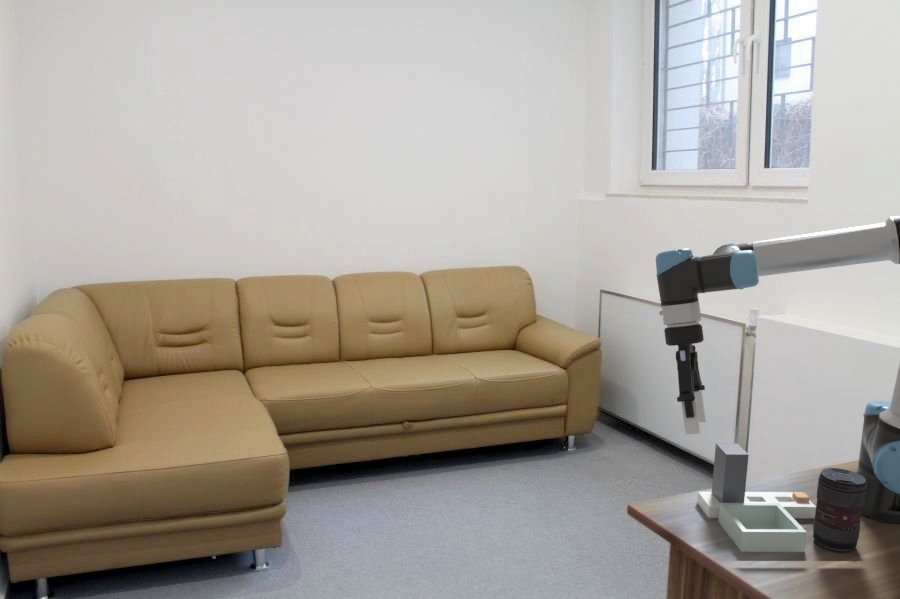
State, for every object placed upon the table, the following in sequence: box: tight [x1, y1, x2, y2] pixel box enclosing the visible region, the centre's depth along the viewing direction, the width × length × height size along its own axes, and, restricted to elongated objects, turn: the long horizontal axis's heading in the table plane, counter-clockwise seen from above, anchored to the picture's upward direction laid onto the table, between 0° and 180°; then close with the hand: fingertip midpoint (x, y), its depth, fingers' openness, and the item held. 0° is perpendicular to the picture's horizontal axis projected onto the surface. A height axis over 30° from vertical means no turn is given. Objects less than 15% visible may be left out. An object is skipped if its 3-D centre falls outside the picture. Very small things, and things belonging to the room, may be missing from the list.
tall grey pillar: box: [711, 442, 750, 503], centre depth 162 cm, size 4×6×13 cm
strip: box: [696, 491, 816, 520], centre depth 164 cm, size 22×7×4 cm, turn 91°
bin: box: [717, 503, 808, 553], centre depth 153 cm, size 12×12×5 cm
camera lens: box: [812, 467, 867, 554], centre depth 149 cm, size 8×8×15 cm
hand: (696, 427), depth 162 cm, fingers open, 13 cm apart
